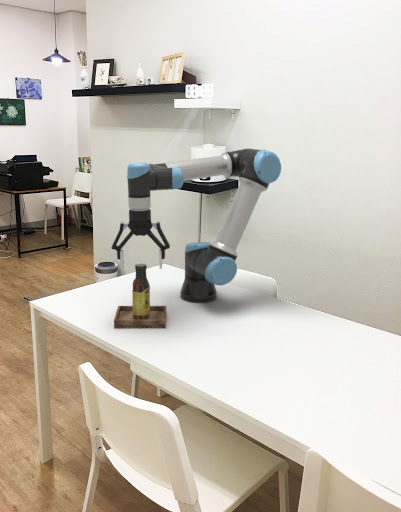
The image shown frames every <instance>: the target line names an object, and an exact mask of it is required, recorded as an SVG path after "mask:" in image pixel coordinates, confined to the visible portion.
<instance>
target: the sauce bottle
mask: <svg viewBox="0 0 401 512" xmlns="http://www.w3.org/2000/svg"><path fill="white" fill-rule="evenodd" d="M134 269H135V278H134V280H133V281H132V292H131V293H132V306H133V318H135V319H137V320H144V319H148V318H149V316H150V306H151V301H150V300H151V294H150V293H151V286H150V283H149V281H148V278H147V264H146V263H136V264H135V265H134Z"/></svg>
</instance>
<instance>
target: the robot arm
mask: <svg viewBox="0 0 401 512" xmlns="http://www.w3.org/2000/svg"><path fill="white" fill-rule="evenodd" d="M281 172H282V163H281V161H280V158H279V157H278V155H277V154H276V153H274V152H273V151H270V150H266V149H255V148H243V149H238V150H232V151H228V152H222V153H221V154H220V155H218V156H210V157H201V158H195V159H194V158H193V159H184V160H178V161H170V162H161V163H155V164H154V163H153V164H152V163H147V162H132V163H129V164H128V165H127V173H126V174H127V175H126V179H127V192H128V194H127V195H128V196H127V200H128V201H127V203H128V208H129V210H128V223H126V222H124V221H121V222H120V224H119V229H118V230H119V231H117V232H118V233H117V234H116V236H115V239H114V241H113V243H112V245H111V249H112V250H114V251H116V256H117V260H119V261H120V270H124V268H125V266H124V265H125V264H124V249H122V248H124V246H125V245H126V244H127V242H128V241H129V240H130V239H131V238H132V237H133V236H136V237H138V236H141V237H144V236H148V237H149V238H150V240H152V241H153V243H155V245H157V247H158V248H159V250H158V252H159V254H158V257H159V269H160V270H162V268H163V260H165V258H166V251H167V250H168V249H170V248H171V244H170V242H169V241H168V239H167V237H166V235H165V233H164V231H163V229H162V227H161V222H160V221H157V222H152V210H151V209H150V208H151V206H152V204H151V200H152V199H151V191H152V192H154V191H164V190H165V191H168V190H172V191H173V190H178V189H181V188H182V187H183V185H184V182H185V181H191V180H192V181H193V180H197V179H204V178H211V177H219V176H223V177H225V178H231V177H236V178H237V177H238V182H239V186H238V188H237V190H236V193H235V195H234V198H233V200H232V202H231V205H230V207H229V209H228V211H227V214H226V216H225V218H224V220H223V222H222V225H221V226H220V227H221V228H220V230H219V232H218V234H217V236H216V238H215V241H213V242H210V241H198V242H197V241H196V242H190V243H187V244H186V245H185V248H184V281H183V283H182V286H181V289H180V293H179V294H180V295H179V296H180V299H181V300H183V301H186V302H189V303H197V304H202V303H209V302H212V301H215V300H216V299H217V296H218V295H217V288H216V286H225V285H227V284H229V283H231V281H233V280H234V278H235V277H236V275H237V272H238V266H237V262H236V260H237V259H238V253H237V249H238V246H239V244H240V242H241V240H242V237H243V234H244V233H245V230H246V227H247V226H248V224H249V221H250V219H251V216H252V214H253V212H254V210H255V208H256V205H257V203H258V201H259V198H260V196H261V194H262V193H263V192H266V191H267V190H268V188H269V185H270V184H272V183H274V182H276V181H277V180H278V179H279V177H280V176H281ZM127 228H128V229H129V230H130V231H129V233H128V234H127V235H126V236H125V237H124V239H123V240H122V241H121V242H120V243H119V240H120V238H121V236H122V234H123V232H124V230H126V229H127ZM152 228H154V229H155V230H156V231H157V232H158V235H159V237H160V238H161V240H162V242H163V243H164V244H163V243H162V242H161V241H160V239H159V238H158V237H157V236H156V235H155V234H154V233H153V231H151V229H152ZM118 243H119V245H118Z"/></svg>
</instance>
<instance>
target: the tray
mask: <svg viewBox="0 0 401 512" xmlns="http://www.w3.org/2000/svg"><path fill="white" fill-rule="evenodd" d="M166 323H167V305H150V316H149V318H148V319H144V320H137V319H135V318H133V305H118V306H117V309H116V312H115V315H114V319H113V329H166V327H167V324H166Z"/></svg>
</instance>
